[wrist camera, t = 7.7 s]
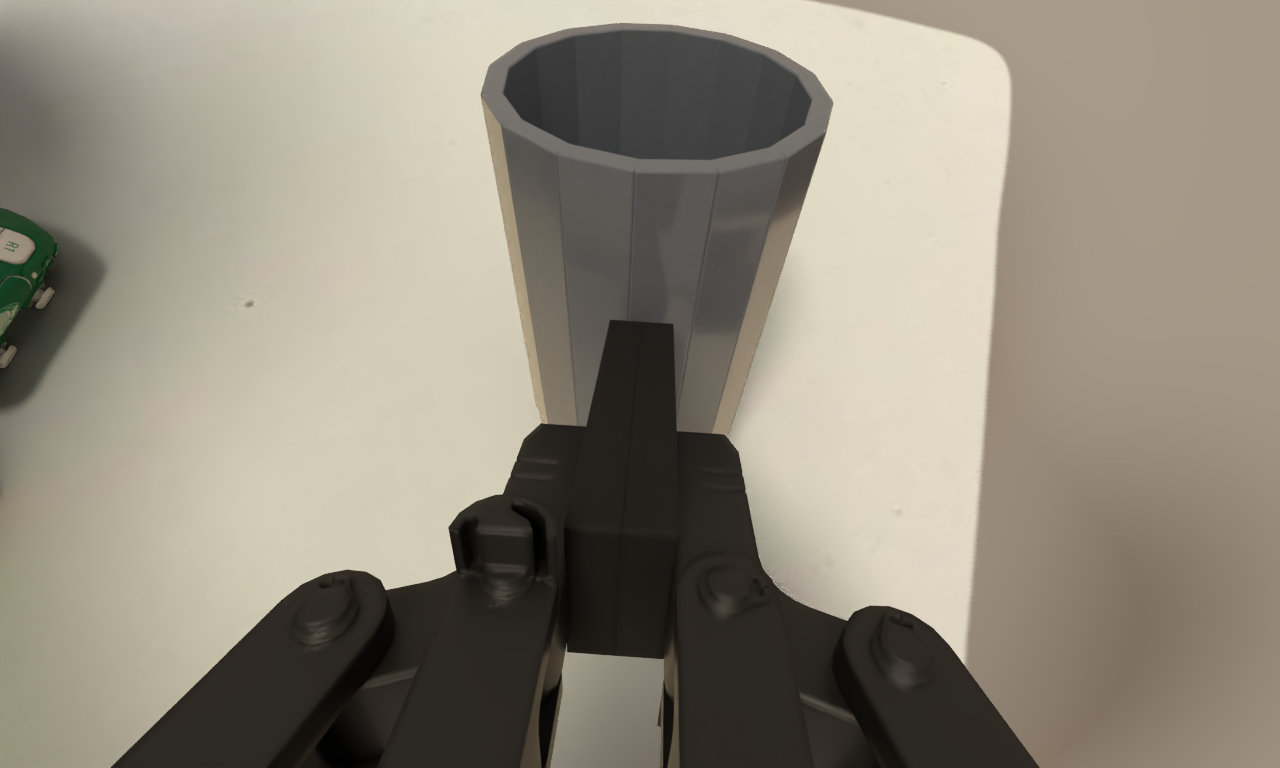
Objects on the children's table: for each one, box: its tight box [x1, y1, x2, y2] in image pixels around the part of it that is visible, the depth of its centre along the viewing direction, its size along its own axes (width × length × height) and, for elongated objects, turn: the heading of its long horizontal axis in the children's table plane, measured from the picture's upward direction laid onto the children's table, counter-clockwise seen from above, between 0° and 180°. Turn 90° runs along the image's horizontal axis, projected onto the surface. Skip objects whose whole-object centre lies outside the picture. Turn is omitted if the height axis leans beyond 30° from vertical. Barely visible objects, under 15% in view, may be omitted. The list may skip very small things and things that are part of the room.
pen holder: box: [481, 23, 833, 436], centre depth 17 cm, size 8×8×12 cm
